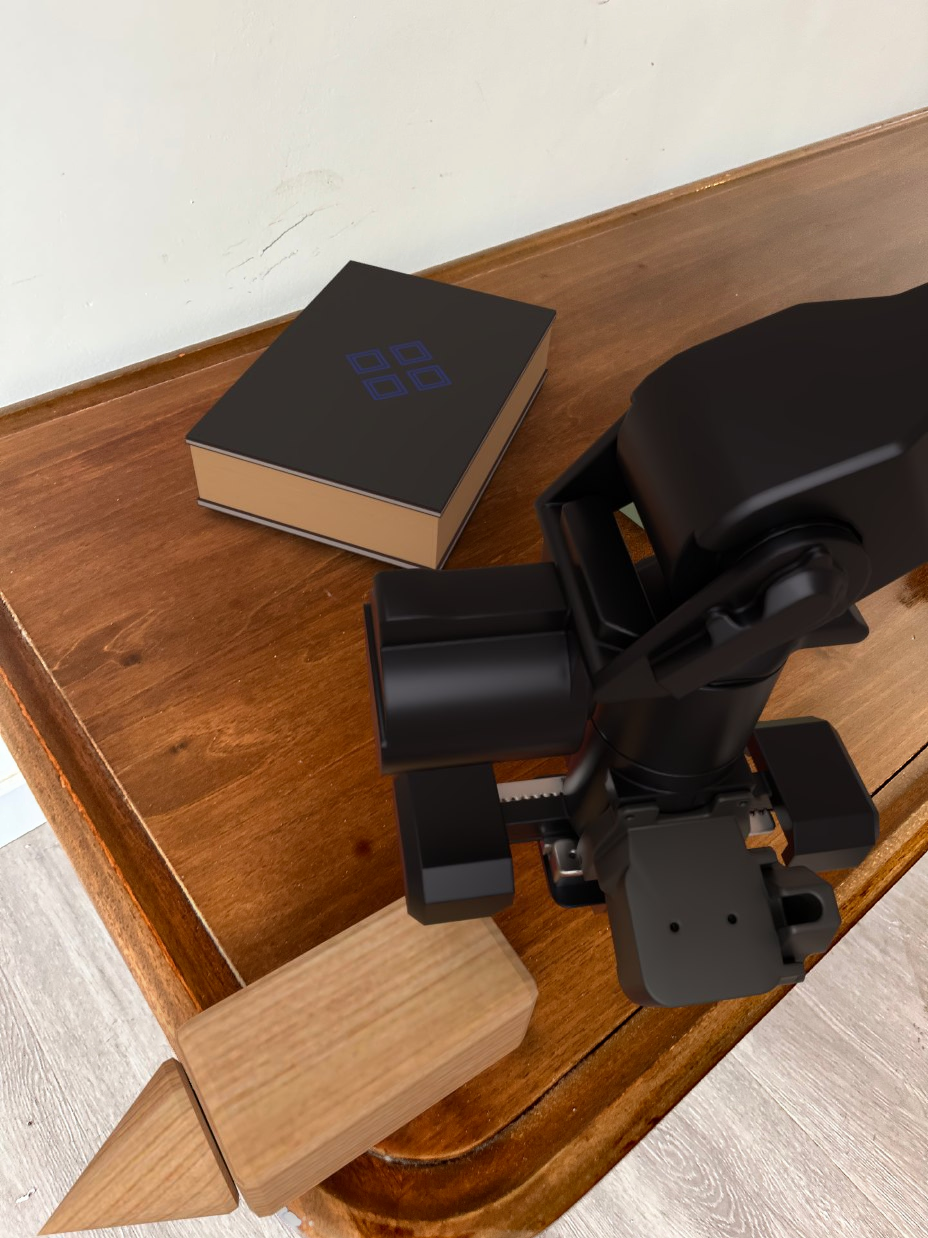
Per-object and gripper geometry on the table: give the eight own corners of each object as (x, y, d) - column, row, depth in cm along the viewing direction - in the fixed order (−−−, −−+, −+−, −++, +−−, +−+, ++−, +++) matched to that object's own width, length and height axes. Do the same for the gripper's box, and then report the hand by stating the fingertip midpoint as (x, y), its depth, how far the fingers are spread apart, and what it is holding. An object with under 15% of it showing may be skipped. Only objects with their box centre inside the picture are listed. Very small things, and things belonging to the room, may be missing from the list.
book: (198, 514, 65) (183, 435, 60) (351, 333, 81) (349, 259, 76) (436, 587, 61) (440, 510, 56) (546, 383, 77) (557, 309, 72)
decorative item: (457, 859, 41) (-18, 1129, 33) (547, 988, 38) (40, 1325, 30) (449, 923, 46) (34, 1172, 38) (528, 1043, 43) (89, 1345, 35)
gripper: (432, 975, 26) (423, 1125, 38) (1044, 887, 29) (858, 1053, 40) (388, 661, 33) (392, 868, 45) (880, 614, 36) (763, 821, 48)
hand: (599, 903), depth 44 cm, fingers closed
